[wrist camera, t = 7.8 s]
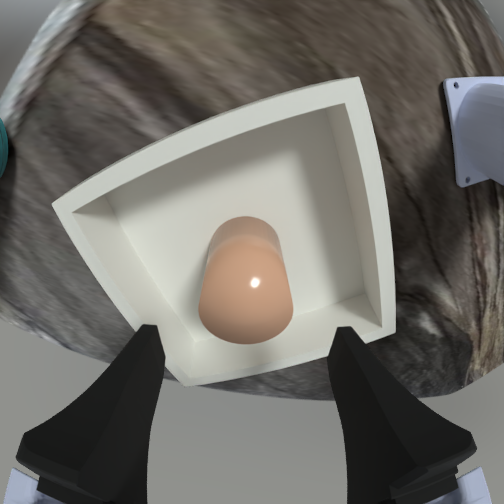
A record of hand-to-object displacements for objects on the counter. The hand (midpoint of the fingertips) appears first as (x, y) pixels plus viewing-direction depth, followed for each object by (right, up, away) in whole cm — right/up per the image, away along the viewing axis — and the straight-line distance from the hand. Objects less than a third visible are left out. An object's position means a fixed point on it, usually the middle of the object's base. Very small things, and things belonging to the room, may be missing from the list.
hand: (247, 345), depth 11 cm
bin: (0, +5, +8) cm, 9 cm away
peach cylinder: (0, +4, +7) cm, 8 cm away
